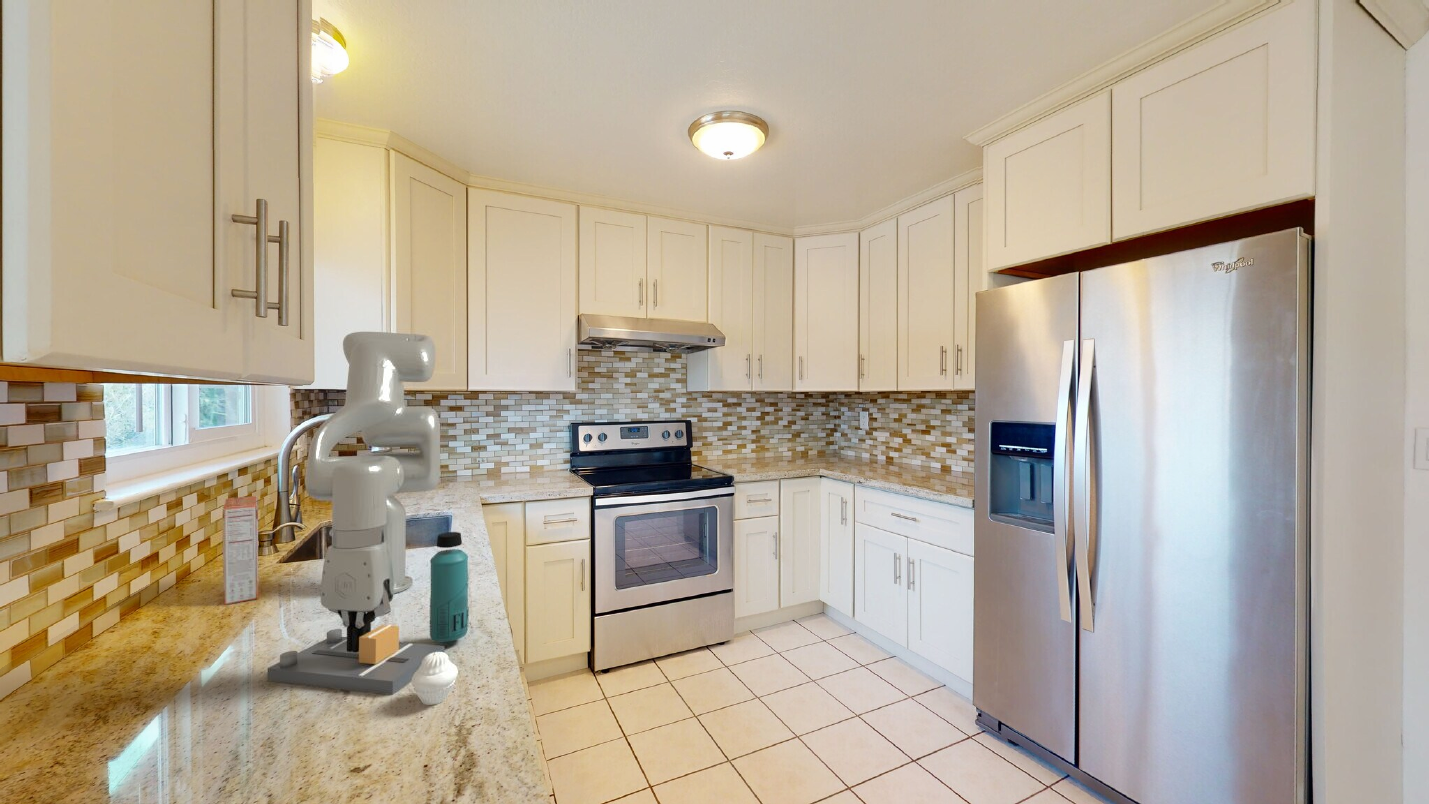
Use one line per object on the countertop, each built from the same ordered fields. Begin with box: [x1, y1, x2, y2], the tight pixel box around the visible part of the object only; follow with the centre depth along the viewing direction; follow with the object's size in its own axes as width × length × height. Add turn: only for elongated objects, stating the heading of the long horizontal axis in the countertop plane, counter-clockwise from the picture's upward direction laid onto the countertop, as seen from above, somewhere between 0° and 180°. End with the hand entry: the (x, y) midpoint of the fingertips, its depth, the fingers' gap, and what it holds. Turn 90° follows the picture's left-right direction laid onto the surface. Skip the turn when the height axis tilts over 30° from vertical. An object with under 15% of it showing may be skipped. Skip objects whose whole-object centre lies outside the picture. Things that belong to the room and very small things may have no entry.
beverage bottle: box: [428, 531, 470, 643], centre depth 100 cm, size 6×7×20 cm
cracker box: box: [222, 495, 259, 605], centre depth 123 cm, size 14×6×21 cm, turn 40°
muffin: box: [410, 651, 459, 706], centre depth 81 cm, size 6×6×7 cm
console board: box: [266, 628, 445, 696], centre depth 90 cm, size 22×12×4 cm, turn 81°
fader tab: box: [359, 623, 400, 664], centre depth 90 cm, size 3×5×4 cm, turn 171°
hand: (358, 648), depth 90 cm, fingers closed
